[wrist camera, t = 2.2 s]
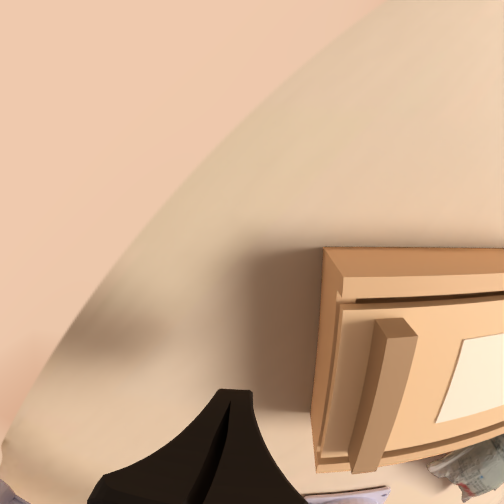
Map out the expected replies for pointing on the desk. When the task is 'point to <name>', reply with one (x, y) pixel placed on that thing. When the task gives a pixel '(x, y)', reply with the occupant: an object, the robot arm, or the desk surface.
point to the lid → (413, 376)
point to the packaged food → (473, 467)
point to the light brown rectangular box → (390, 291)
